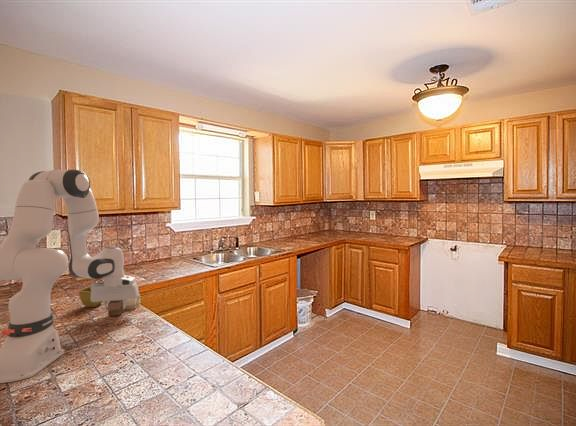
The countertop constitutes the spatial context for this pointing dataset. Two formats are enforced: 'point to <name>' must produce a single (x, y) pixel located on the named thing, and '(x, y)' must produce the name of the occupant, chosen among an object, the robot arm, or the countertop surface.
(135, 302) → the maple block
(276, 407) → the countertop surface
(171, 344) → the countertop surface
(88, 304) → the flower pot
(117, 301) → the walnut cube
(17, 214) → the robot arm
